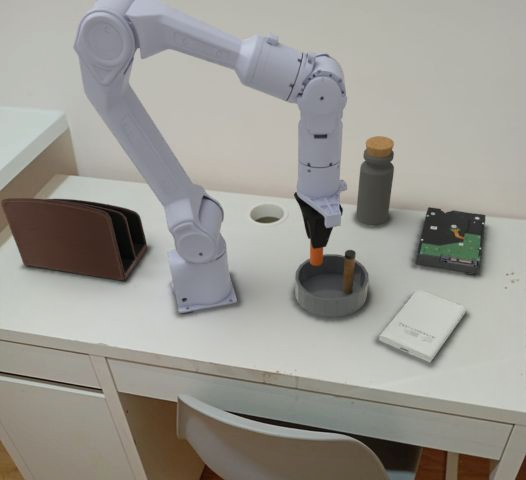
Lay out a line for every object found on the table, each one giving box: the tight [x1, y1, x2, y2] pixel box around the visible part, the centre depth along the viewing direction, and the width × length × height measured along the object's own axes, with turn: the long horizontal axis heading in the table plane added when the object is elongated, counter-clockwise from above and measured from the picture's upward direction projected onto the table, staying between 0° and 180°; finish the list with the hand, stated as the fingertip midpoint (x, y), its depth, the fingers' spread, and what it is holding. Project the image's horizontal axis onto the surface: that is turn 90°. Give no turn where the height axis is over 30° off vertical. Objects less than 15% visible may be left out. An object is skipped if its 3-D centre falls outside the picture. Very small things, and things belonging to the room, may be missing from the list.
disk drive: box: [415, 206, 486, 275], centre depth 100 cm, size 10×3×15 cm
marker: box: [309, 240, 324, 266], centre depth 87 cm, size 2×2×8 cm
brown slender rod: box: [342, 249, 357, 293], centre depth 91 cm, size 2×2×8 cm
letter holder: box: [1, 197, 148, 282], centre depth 99 cm, size 10×20×14 cm, turn 74°
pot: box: [294, 253, 370, 319], centre depth 92 cm, size 11×11×4 cm
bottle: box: [355, 135, 395, 227], centre depth 103 cm, size 6×6×15 cm
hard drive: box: [378, 289, 467, 363], centre depth 87 cm, size 2×8×12 cm
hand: (316, 241), depth 87 cm, fingers closed on marker, 2 cm apart
